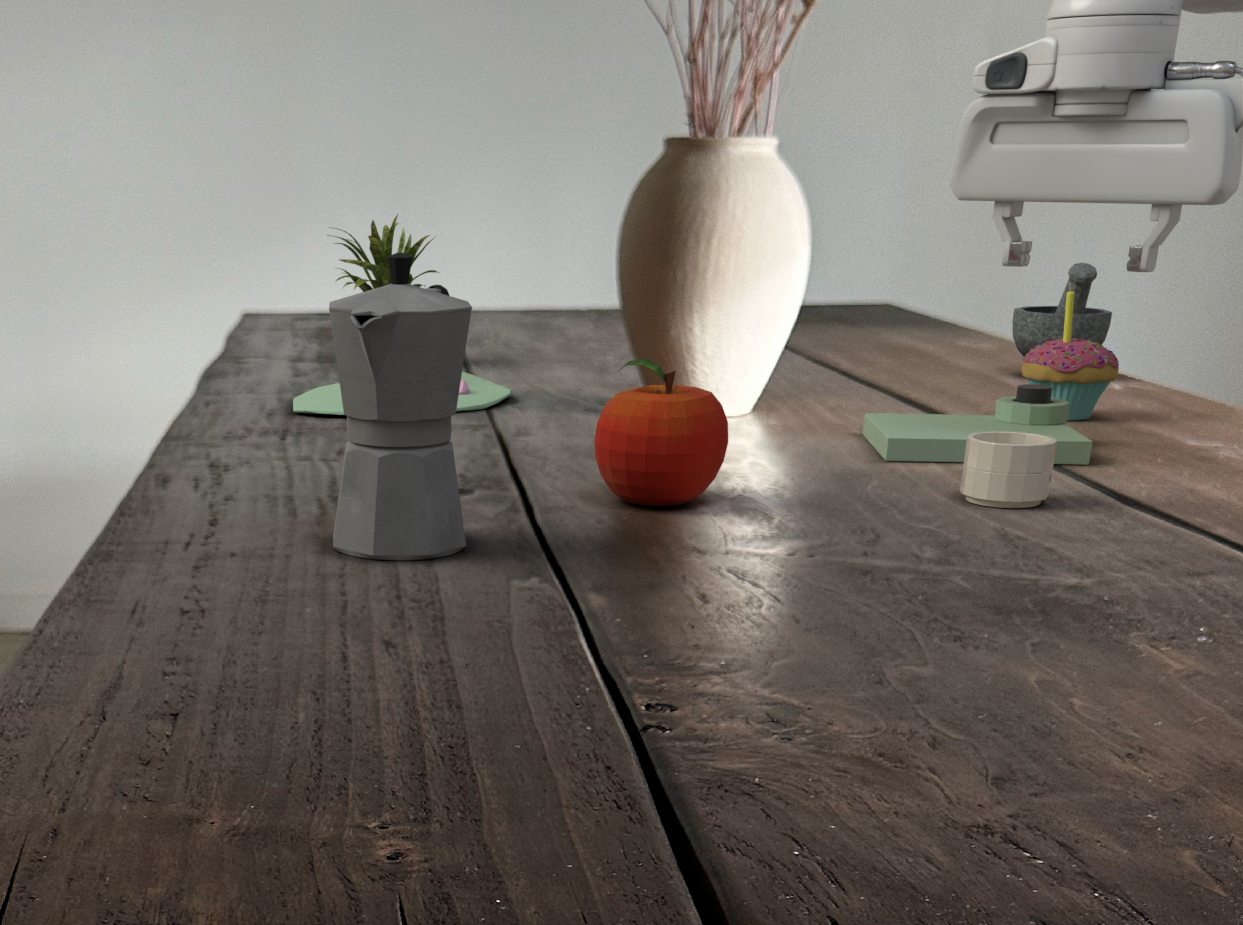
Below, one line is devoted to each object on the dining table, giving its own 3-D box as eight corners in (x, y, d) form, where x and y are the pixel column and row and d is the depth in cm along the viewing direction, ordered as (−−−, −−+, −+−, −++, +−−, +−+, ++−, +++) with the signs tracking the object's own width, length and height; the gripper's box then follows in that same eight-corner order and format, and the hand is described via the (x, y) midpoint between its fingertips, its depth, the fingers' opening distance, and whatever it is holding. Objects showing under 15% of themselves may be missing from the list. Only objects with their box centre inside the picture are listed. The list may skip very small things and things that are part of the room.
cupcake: (1081, 426, 154) (1103, 287, 150) (995, 416, 160) (1014, 281, 155) (1127, 416, 160) (1150, 281, 155) (1042, 406, 165) (1062, 276, 161)
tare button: (1045, 403, 147) (1048, 384, 146) (1053, 407, 144) (1056, 389, 144) (1011, 402, 147) (1014, 384, 146) (1019, 407, 145) (1021, 388, 144)
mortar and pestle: (997, 370, 190) (1013, 256, 185) (1083, 370, 189) (1102, 256, 185) (1023, 384, 180) (1041, 263, 175) (1114, 385, 179) (1135, 264, 174)
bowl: (1035, 493, 127) (1045, 432, 125) (1055, 510, 121) (1065, 446, 119) (952, 492, 127) (960, 430, 125) (968, 508, 122) (977, 444, 120)
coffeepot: (432, 574, 104) (436, 262, 97) (292, 561, 107) (285, 258, 100) (507, 523, 117) (515, 245, 110) (380, 513, 121) (380, 242, 113)
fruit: (711, 519, 118) (723, 370, 114) (577, 509, 122) (584, 364, 118) (734, 493, 127) (745, 354, 123) (607, 485, 130) (615, 348, 126)
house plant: (316, 357, 202) (313, 209, 196) (431, 355, 204) (432, 208, 197) (326, 372, 189) (324, 215, 183) (449, 370, 191) (451, 214, 184)
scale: (1052, 437, 149) (1059, 396, 148) (1093, 465, 137) (1100, 420, 136) (861, 434, 151) (866, 393, 150) (885, 461, 139) (890, 417, 137)
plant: (441, 426, 155) (442, 322, 151) (244, 411, 163) (241, 313, 160) (539, 391, 176) (543, 299, 172) (360, 380, 184) (360, 291, 180)
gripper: (1275, 60, 117) (1236, 272, 123) (990, 69, 130) (967, 260, 136) (1244, 58, 113) (1205, 278, 119) (953, 67, 126) (930, 265, 132)
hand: (1076, 268), depth 127 cm, fingers open, 8 cm apart
